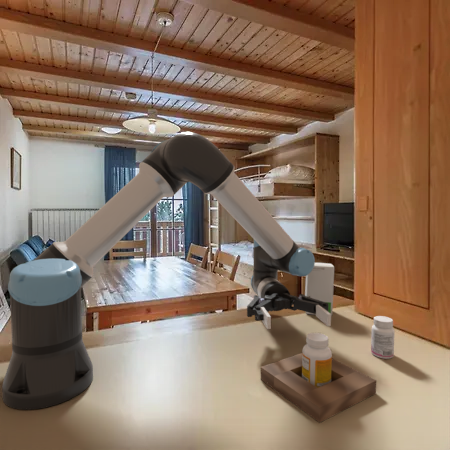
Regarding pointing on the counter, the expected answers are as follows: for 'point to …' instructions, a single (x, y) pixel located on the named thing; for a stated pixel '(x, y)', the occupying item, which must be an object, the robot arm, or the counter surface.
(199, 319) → the counter surface
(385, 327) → the pill bottle
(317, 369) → the supplement bottle
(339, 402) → the socket block
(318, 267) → the skincare box
